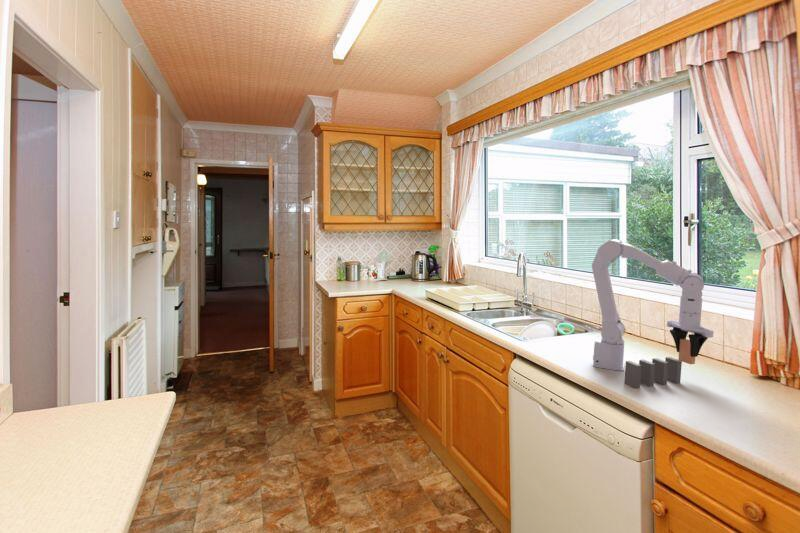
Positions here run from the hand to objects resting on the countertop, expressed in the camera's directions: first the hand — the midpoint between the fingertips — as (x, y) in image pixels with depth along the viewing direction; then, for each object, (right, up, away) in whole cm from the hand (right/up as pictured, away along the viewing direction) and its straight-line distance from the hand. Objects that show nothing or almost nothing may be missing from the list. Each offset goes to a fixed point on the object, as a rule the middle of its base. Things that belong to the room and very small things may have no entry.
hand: (687, 354), depth 139 cm
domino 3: (-10, -8, -2) cm, 13 cm away
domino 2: (-15, -9, -3) cm, 18 cm away
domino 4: (-5, -8, -1) cm, 10 cm away
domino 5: (0, -3, 0) cm, 3 cm away
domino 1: (-20, -9, -5) cm, 22 cm away
